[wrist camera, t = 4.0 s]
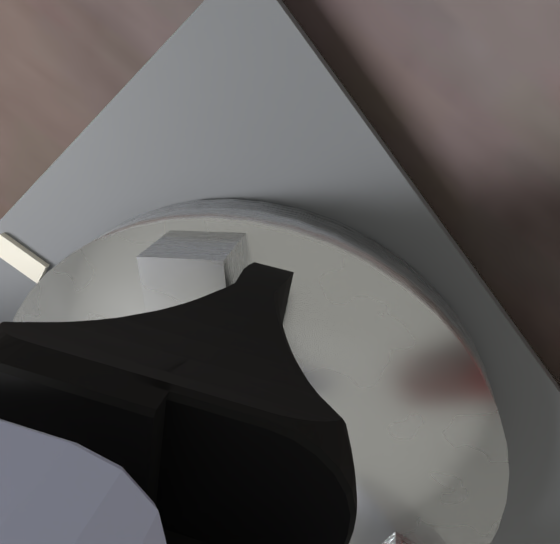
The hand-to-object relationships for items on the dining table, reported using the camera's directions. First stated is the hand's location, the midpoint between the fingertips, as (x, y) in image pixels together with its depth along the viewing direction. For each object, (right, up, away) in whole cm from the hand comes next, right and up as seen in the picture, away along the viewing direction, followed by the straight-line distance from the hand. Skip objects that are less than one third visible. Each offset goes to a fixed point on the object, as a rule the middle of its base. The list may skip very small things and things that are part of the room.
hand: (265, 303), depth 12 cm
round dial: (-1, -5, +5) cm, 7 cm away
